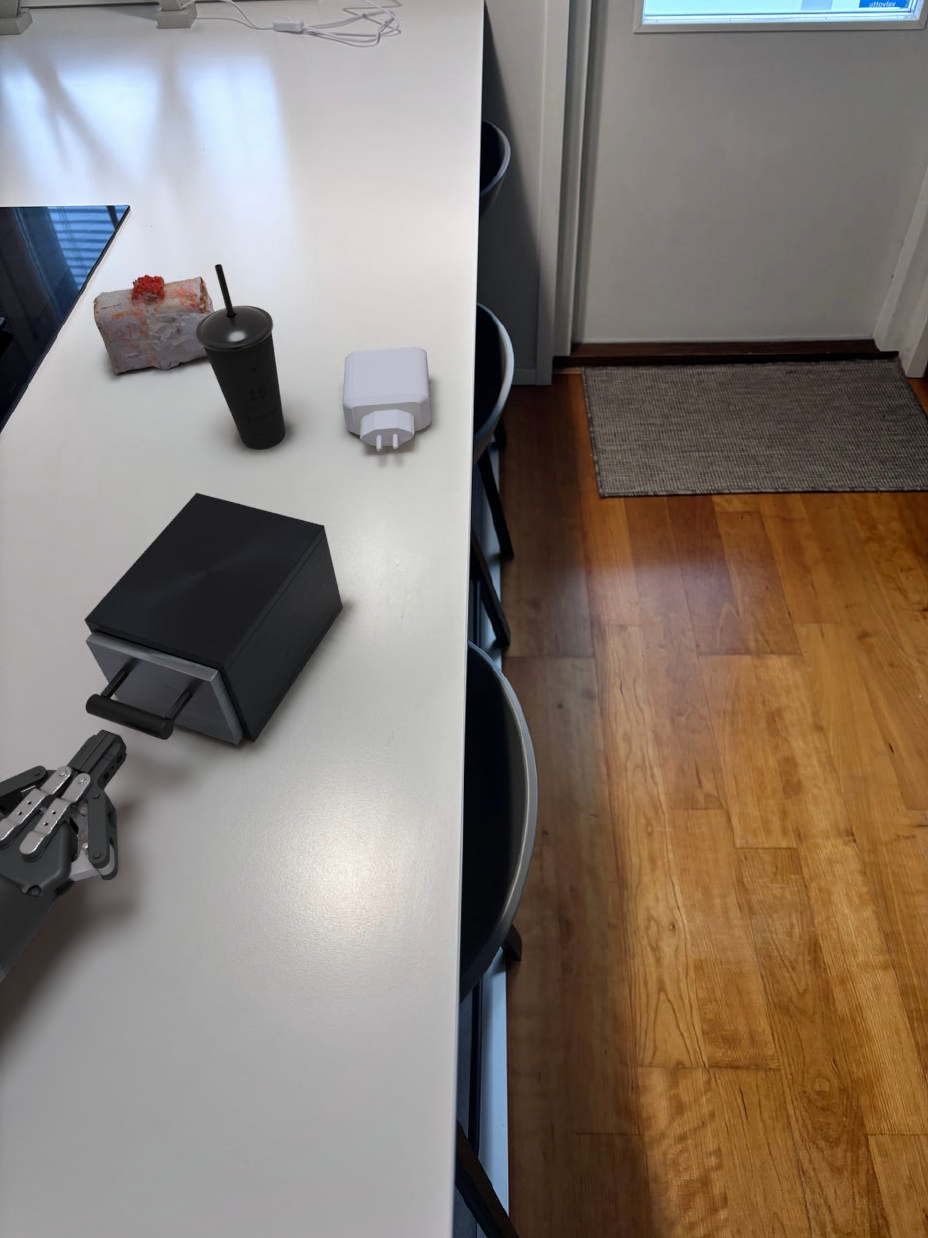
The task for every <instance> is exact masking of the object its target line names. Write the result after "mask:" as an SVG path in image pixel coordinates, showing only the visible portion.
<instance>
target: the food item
mask: <svg viewBox="0 0 928 1238" xmlns="http://www.w3.org/2000/svg"><path fill="white" fill-rule="evenodd" d="M132 285H133V287H132V288H126V289H118V290H112V291H102V292H100V294H98V295H97V296H96V297H95V298H94V299H93V302H92V303H93V318H94V323H95V325H96V327H97V329H98V332H99V334H100V336H101V339H102V341H103V345H104V348H105V349H106V352H107V354H108V357H109V359H110V362H111V366H112V369H113V371H114V373H115V374H116V375H118V374H120V373H125V372H127V371H133V370H140V369H144V368H145V369H146V368H151V367H155V368H158V369H159V370H163V371H164V370H166V371H167V370H170V369H171V368H174V367H178V366H179V365H180V363H187V362H190V361H193V360H196V359H201V358H205V357H206V358H208V356H207V354H206V352H205V349H204V347H203V345H201V343H200V342H199V341H198V339H197V336H196V329H197V326H198V324H199V323H200V322H201V321H202V320H203V319H204V318H205V317H206V316H208V315H209V314H211V313H213V312H215V311H216V310H215V308H214V304H213V299H212V297H211V296H210V294H209V292H208V288H207V284H206V282H205V280H204V279H203V278H202V276H196V277H194V278H187V279H183V280H176V281H171V282H165V280H164V278H163V277H162V276H161V275H160V276H159V275H154V276H150V275H149V274H144V275H143V276H138V277H137V278H136V279H134V280H133V281H132Z"/></svg>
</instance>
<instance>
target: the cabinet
mask: <svg viewBox="0 0 928 1238" xmlns="http://www.w3.org/2000/svg"><path fill="white" fill-rule="evenodd" d="M343 608H344V607H343V602H342V597H341V593H340V589H339V585H338V581H337V576H336V572H335V567H334V563H333V559H332V555H331V550H330V544H329V541H328V537H327V532H326V528H325V525H323V524H319V523H316V522H313V521H312V522H311V521H308V520H304V519H300V518H296V517H292V516H290V515H289V516H288V515H284V514H281V513H277V512H273V511H269V510H266V509H262V508H257V507H254V506H250V505H246V504H241V503H237V502H235V501H230V500H227V499H222V498H219V497H216V496H215V497H214V496H211V495H207V494H203V493H199V492H196V493H194V495H193V496H192V497H191V498H190V499H189V500H188V501H187V503H185V505H184V506H183V507H182V508H181V509H180V510H179V512H178V513H177V514H175V516H174V517H173V518H172V519H171V521H170V522H169V523H168V524H167V525H166V527H164V529H163V530H162V531H161V532H160V533H159V534H158V536H156V537H155V538H154V540H153V541H152V542H151V543H150V545H148V546H147V548H146V549H145V550H144V551H143V552H142V553H141V554H140V556H139V557H138V558H137V559H136V560H135V562H133V564H132V565H131V566H129V568H128V570H126V572H125V573H123V575H122V576H121V577H120V578H119V579H118V581H117V582H116V583H115V584H114V585H113V586H112V587H111V588H110V590H109V591H108V592H107V593H106V594H105V595H104V596H103V598H102V599H101V600H100V601H99V602H98V604H96V605H95V607H94V608H93V609H92V610H91V611H90V613H88V614H87V616H86V617H85V618H84V623H85V624H86V626H87V627H88V629H89V631H90V634H91V633H92V632H93V631H94V630H95V631H98V632H101V633H105V634H108V635H111V636H114V637H117V638H120V639H123V638H124V639H127V640H130V641H134V642H137V643H140V644H143V645H146V646H149V647H152V648H155V649H159V650H162V651H165V652H168V653H171V654H174V655H177V656H180V657H183V658H187V659H190V660H193V661H196V662H199V663H202V664H205V665H208V666H212V667H215V668H216V669H217V670H219V672H220V674H221V677H222V679H223V682H224V684H225V687H226V689H227V692H228V694H229V697H230V699H231V702H232V704H233V706H234V709H235V711H236V714H237V716H238V719H239V721H240V724H241V726H242V729H243V731H244V736H243V737H242V739H243V740H245V741H248V742H251V743H255V742H256V740H257V739H258V737H259V736H260V734H261V732H262V731H263V729H264V728H265V727H266V725H267V723H268V722H269V720H271V718H272V716H273V715H274V713H275V711H276V710H277V708H278V707H279V705H280V704H281V702H282V701H283V699H284V697H285V696H286V695H287V693H288V692H289V690H290V689H291V687H292V686H293V684H294V683H295V681H296V680H297V678H298V677H299V675H300V673H301V672H302V671H303V669H304V667H306V664H307V663H308V662H309V660H310V659H311V657H312V655H313V654H314V652H315V651H316V649H317V648H318V646H319V645H320V643H321V642H322V641H323V639H324V637H325V636H326V634H327V633H328V631H329V630H330V628H331V626H332V625H333V624H334V622H335V621H336V619H337V618H338V616H339V614H341V612H342V610H343ZM124 639H123V640H124Z"/></svg>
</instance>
